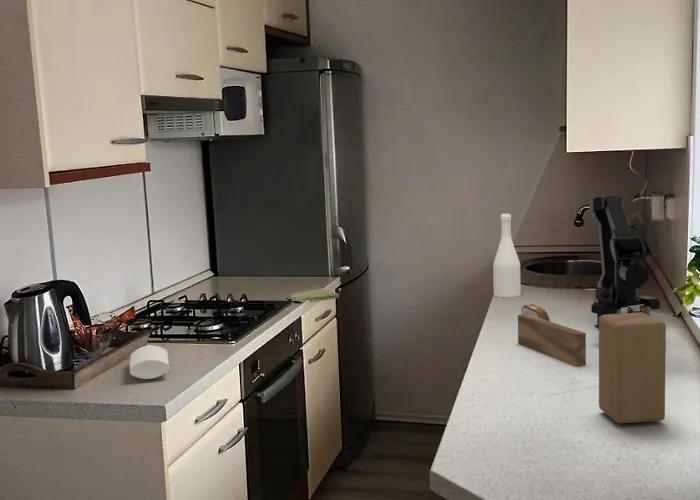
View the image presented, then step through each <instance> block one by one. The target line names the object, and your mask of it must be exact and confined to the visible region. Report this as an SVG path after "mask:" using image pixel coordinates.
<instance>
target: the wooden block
mask: <svg viewBox="0 0 700 500" xmlns="http://www.w3.org/2000/svg"><path fill="white" fill-rule="evenodd" d="M666 333H667V326H666V323H665V322H664V321H663V320H661V319H658V318H656V317H654V316H652V315H650V314H645V313H642V312H640V313H623V314H606V315H602V316H600V317H599V328H598V407H599V409H600V410H601V411H602V412H603V413H605V414H606V415H607V416H608V417H610V418H611V419H612V420H613V421H615V422H616V423H618V424H629V423H631V424H633V423H645V422H659V421H660V422H661V421H663V420H665V417H666V359H667V357H666V349H667V348H666V345H667V344H666V343H667V342H666V340H667V338H666V335H667V334H666Z"/></svg>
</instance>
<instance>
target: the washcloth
mask: <svg viewBox="0 0 700 500" xmlns="http://www.w3.org/2000/svg"><path fill="white" fill-rule="evenodd" d="M291 294H292V296H291V297H292V298H293V297H295V298H296V300H305V299H306V300H309V303H314V302H320V301H326V300H327V301H328V300H334V299H338V298H339V297H340V294H339V293H337V292H334V291H331V290H330V289H326V288H323V287H321V288H318V289H311V290H305V291H299V292H295V293H291Z"/></svg>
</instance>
